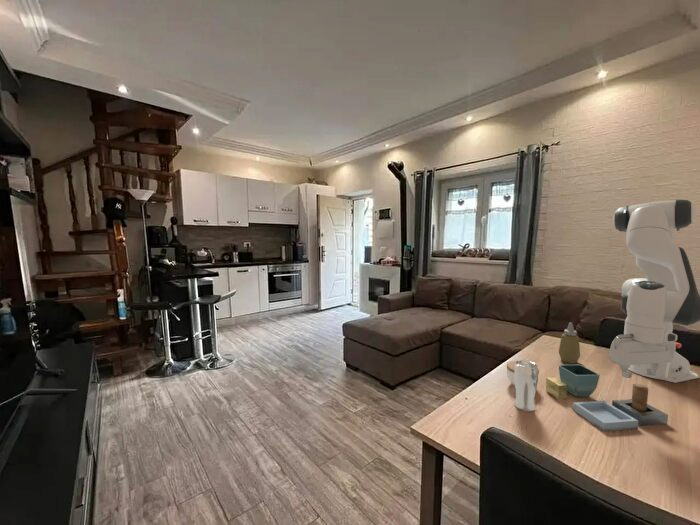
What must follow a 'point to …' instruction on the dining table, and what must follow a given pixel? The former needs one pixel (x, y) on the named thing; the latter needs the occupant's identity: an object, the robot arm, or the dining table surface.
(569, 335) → the squeeze bottle
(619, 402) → the socket block
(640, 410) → the dowel
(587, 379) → the flower pot
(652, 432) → the dining table surface
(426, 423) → the dining table surface
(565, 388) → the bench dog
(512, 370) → the lidded jar
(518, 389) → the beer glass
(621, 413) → the tray
